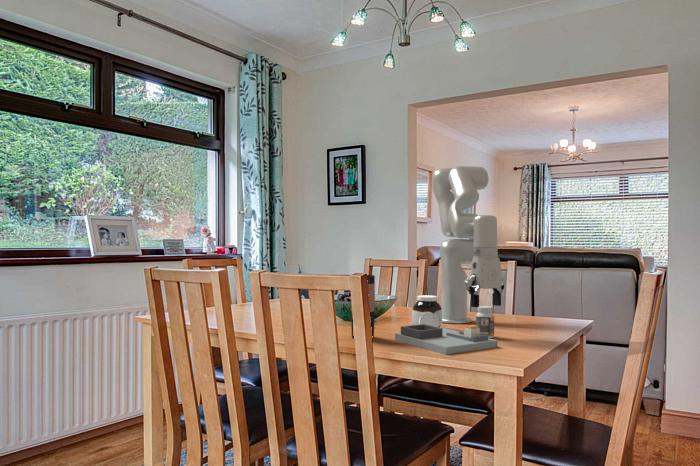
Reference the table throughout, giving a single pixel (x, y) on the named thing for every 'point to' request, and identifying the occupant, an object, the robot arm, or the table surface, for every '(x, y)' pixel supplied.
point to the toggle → (471, 331)
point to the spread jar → (427, 311)
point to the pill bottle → (485, 321)
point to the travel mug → (371, 301)
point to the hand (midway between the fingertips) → (485, 306)
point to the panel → (443, 339)
